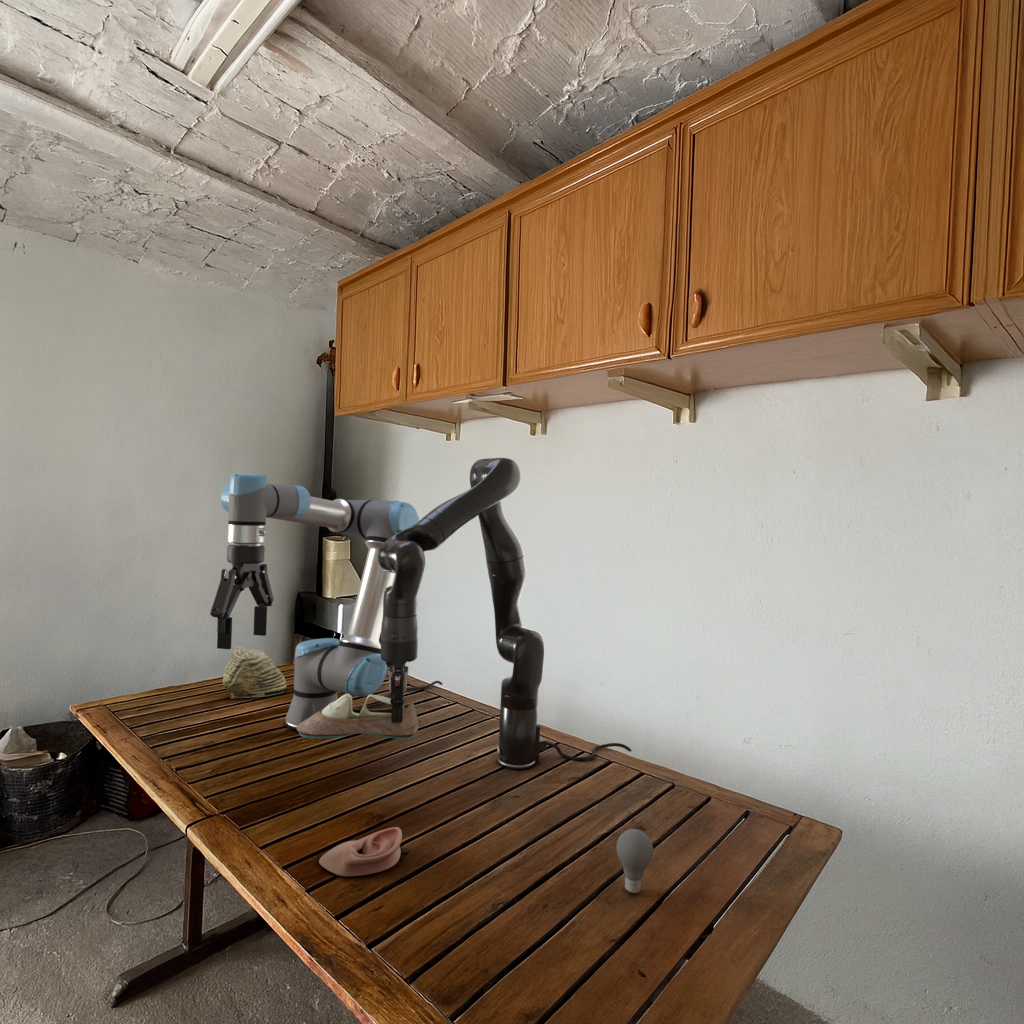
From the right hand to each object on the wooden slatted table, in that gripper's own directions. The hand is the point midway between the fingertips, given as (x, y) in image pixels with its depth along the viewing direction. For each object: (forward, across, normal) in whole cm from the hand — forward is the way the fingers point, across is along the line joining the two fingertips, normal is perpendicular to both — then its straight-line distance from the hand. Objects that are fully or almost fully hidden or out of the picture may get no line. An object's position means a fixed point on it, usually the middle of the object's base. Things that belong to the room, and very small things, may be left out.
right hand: (397, 716), depth 131 cm
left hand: (-13, +12, +34) cm, 38 cm away
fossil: (+18, +73, +46) cm, 89 cm away
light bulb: (+19, -32, -40) cm, 55 cm away
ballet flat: (+4, +1, +8) cm, 9 cm away
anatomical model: (+18, -20, +5) cm, 28 cm away
